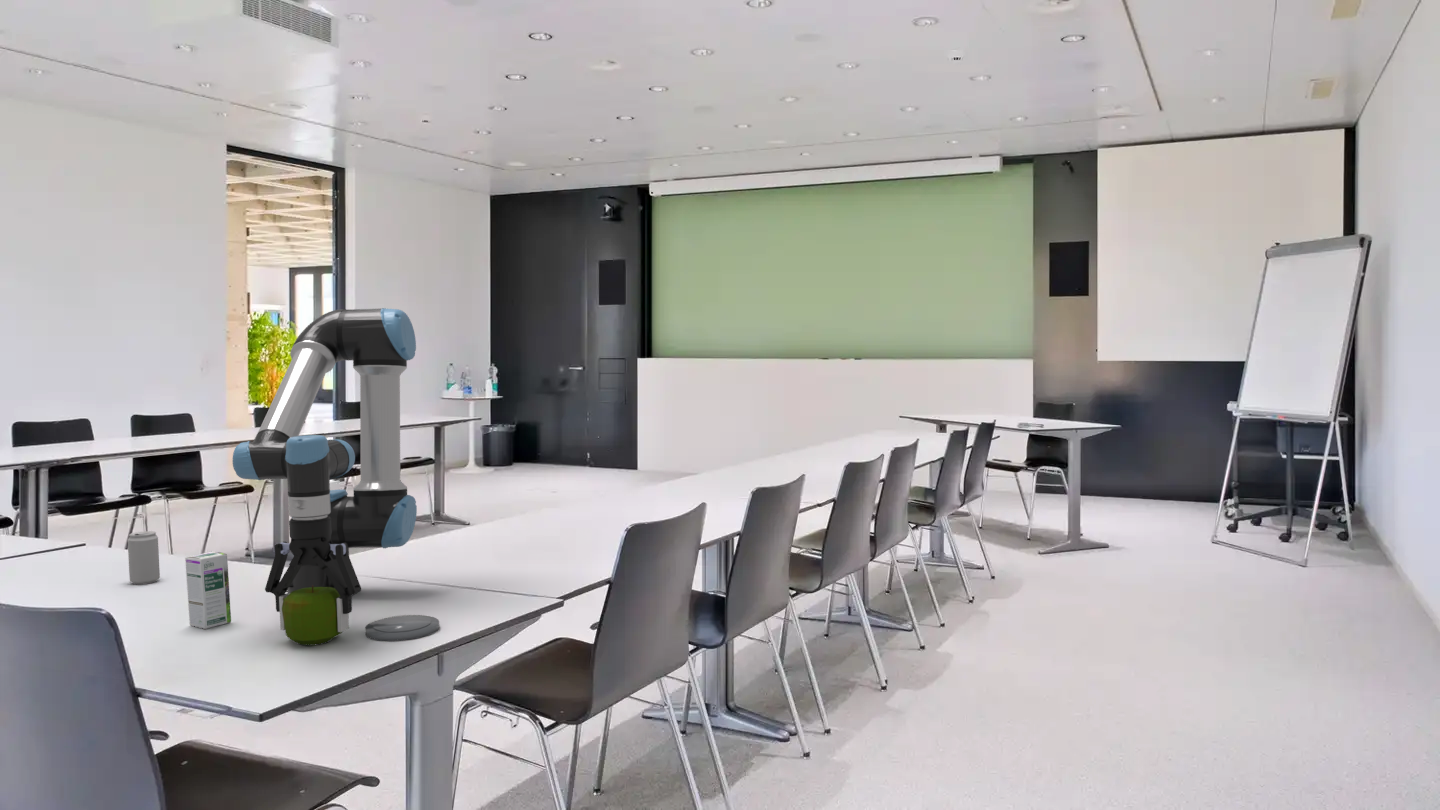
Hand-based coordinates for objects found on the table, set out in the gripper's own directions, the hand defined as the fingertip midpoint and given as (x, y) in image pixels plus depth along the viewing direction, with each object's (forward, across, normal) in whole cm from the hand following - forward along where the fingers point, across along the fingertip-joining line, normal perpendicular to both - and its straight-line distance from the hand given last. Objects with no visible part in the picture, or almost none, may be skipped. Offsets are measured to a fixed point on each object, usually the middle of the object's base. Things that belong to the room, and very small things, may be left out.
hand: (314, 629), depth 199 cm
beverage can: (+2, -68, +40) cm, 79 cm away
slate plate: (+2, +14, +8) cm, 16 cm away
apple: (+2, 0, 0) cm, 2 cm away
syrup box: (+2, -28, +8) cm, 29 cm away
